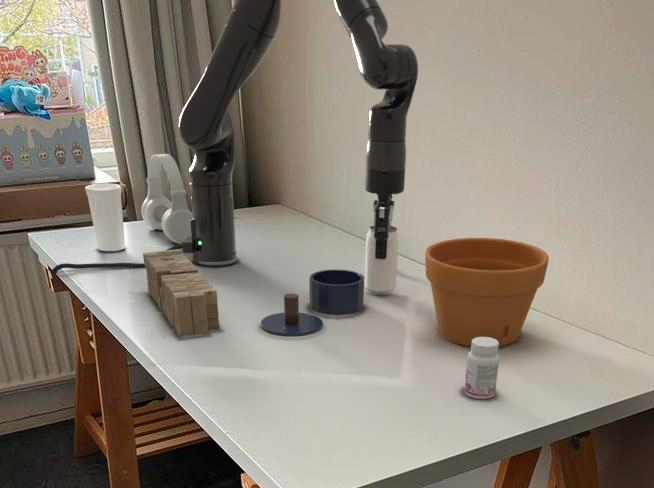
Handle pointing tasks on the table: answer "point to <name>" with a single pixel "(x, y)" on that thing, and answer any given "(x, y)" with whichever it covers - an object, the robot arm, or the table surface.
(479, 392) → the pill bottle
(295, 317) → the lid
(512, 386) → the table surface
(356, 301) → the pot
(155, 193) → the headphones
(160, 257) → the block tower
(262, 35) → the robot arm
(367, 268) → the can
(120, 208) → the cup
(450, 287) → the flower pot
